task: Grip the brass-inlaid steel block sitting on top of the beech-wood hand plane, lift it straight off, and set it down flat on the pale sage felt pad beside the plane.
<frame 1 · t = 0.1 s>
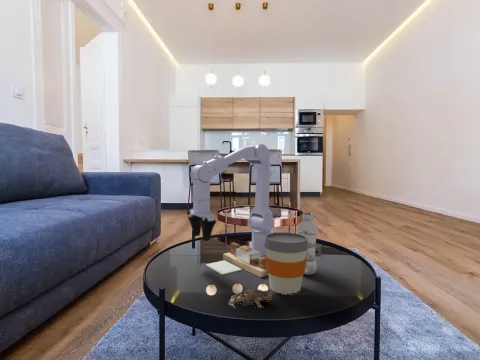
hand: (201, 238, 101), 10 cm above the table, tool pointing down, fingers open, 7 cm apart
hand plane: (247, 265, 103), on the table
frog figurine: (252, 303, 76), on the table
reusable coffee cup: (285, 288, 85), on the table
brass-inlaid steel block: (248, 259, 103), point 2 cm above the table, touching hand plane
plastic bottle: (306, 274, 96), on the table
felt pad: (223, 267, 101), on the table
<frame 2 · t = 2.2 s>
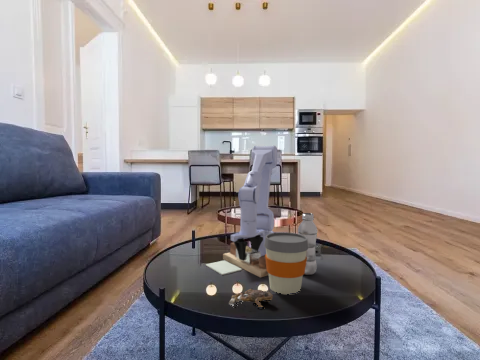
hand: (248, 258, 103), 3 cm above the table, tool pointing down, fingers closed on brass-inlaid steel block, 5 cm apart
brass-inlaid steel block: (248, 259, 103), point 2 cm above the table, touching gripper, hand plane
everything else where it was.
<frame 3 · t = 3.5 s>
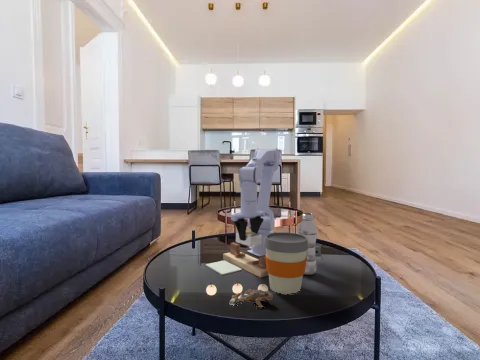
hand: (248, 238, 103), 10 cm above the table, tool pointing down, fingers closed on brass-inlaid steel block, 5 cm apart
brass-inlaid steel block: (248, 243, 103), point 8 cm above the table, touching gripper
everything else where it was.
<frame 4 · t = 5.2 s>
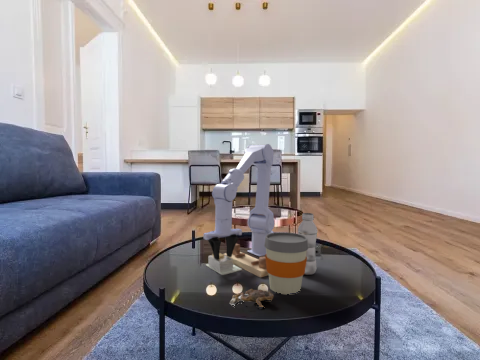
hand: (222, 257, 100), 4 cm above the table, tool pointing down, fingers open, 5 cm apart
brass-inlaid steel block: (220, 267, 100), resting on felt pad, touching gripper
everything else where it was.
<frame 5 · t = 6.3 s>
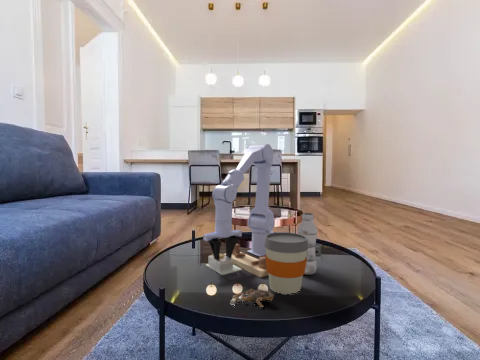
hand: (222, 258, 100), 3 cm above the table, tool pointing down, fingers open, 4 cm apart
nothing on the table moved.
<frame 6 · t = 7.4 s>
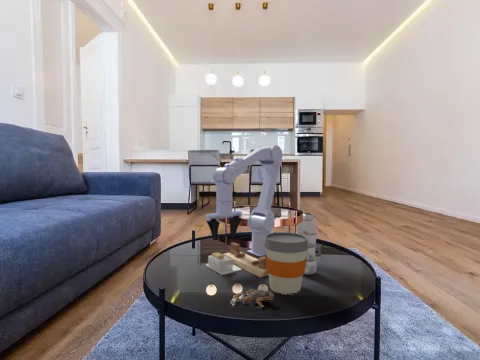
hand: (224, 238, 104), 9 cm above the table, tool pointing down, fingers open, 7 cm apart
brass-inlaid steel block: (220, 267, 99), resting on felt pad
everything else where it was.
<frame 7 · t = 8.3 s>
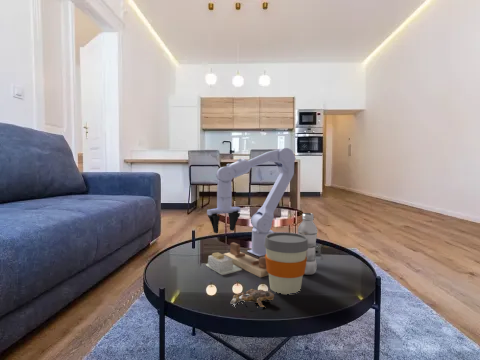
hand: (224, 231, 114), 9 cm above the table, tool pointing down, fingers open, 7 cm apart
nothing on the table moved.
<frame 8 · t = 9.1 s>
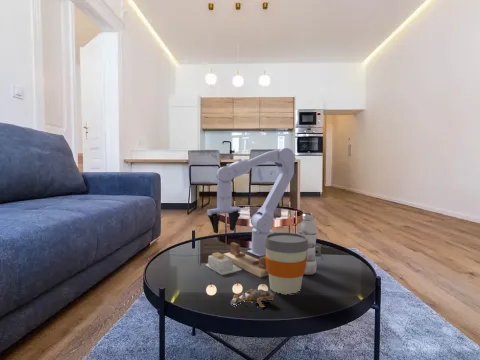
hand: (224, 231, 114), 9 cm above the table, tool pointing down, fingers open, 7 cm apart
nothing on the table moved.
at the end: brass-inlaid steel block inside the target area on the felt pad (1.4 cm from its centre), point 0.4 cm above the felt pad's base; brass-inlaid steel block tilted 0°; the gripper is holding nothing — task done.
